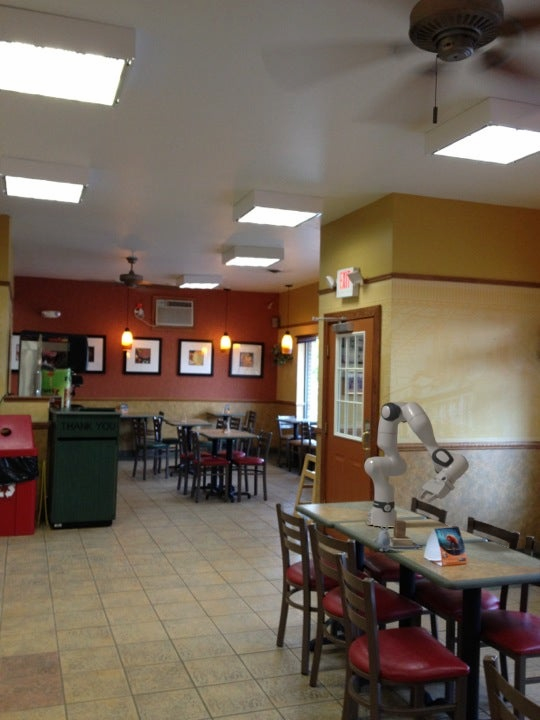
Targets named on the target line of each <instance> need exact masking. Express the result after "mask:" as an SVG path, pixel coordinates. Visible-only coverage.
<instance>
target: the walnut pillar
mask: <svg viewBox="0 0 540 720" xmlns="http://www.w3.org/2000/svg"><path fill="white" fill-rule="evenodd" d="M406 526H407V522H406V521H405V520H403V519H401V520H400V519H399V520H398V519H397V520H394V528H393V534H392V535H393V536H394V537H395V538H404V539H405V536H406V534H407V533H406V532H407V531H406V529H407V528H406Z"/></svg>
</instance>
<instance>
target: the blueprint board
mask: <svg viewBox="0 0 540 720" xmlns="http://www.w3.org/2000/svg"><path fill="white" fill-rule="evenodd" d="M389 547H390V548H394V549H393V550H413V549H412V548H423V547H422V546H420V545H419V544H418V543H416V542H414V541H413V544H412V546H392V545H391V544H390V545H389ZM390 548H389V549H390Z"/></svg>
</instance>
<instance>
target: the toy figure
mask: <svg viewBox="0 0 540 720" xmlns="http://www.w3.org/2000/svg"><path fill="white" fill-rule="evenodd" d="M380 530H381V531H380V532H379V533H378V536H377V537H375V538H374V539H373V543H374V544H375V543H377V544H378V546H379V547H380V548H379V551H380V552H389V548H388V546H389V545H390V539H391V542H393V543H394V539H393V538H391V537H390V536H389V535H390V534H389V531H388V530H389V528H388V526H386V528H383V526H381V528H380Z"/></svg>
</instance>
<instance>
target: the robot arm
mask: <svg viewBox="0 0 540 720" xmlns="http://www.w3.org/2000/svg"><path fill="white" fill-rule="evenodd" d="M380 415H381V416H379V420H378V421H379V422H378V428H377V439H376V440H377V443H376V444H377V446H378V448H379V449H381V451H383V452H384V456H372V457H368V458H366V460H365V462H364V464H363V465H364V472H365V473H366V474H367V475H368V476H369V477H370V479H372V482H373V487H374V496H373V497H374V499H373V501H372V507H370V509H369V510H368V512H366V517H368V518H367V519H368V520H369V521H370V522H371V524H373V525H378V526H394V520H398V517H397V515H398V514H397V511H396V509H395V506H396V501H395V492H396V491H395V487H394V486H393V484H392V483H390V482H389V481H388V477H399V476H402V475H405V473H407V468H408V465H407V462H406V460H405V459H404V458H403V457H402V456H401V454H400V452H399V448H398V434H399V433H398V432H399V431H398V430H399V429H398V426H399V424H400V423H403V424H405V423H407V424H408V426H409V427H410V429H411V430H412V433H414V434H415V435H416V436H417V438H418V439H419V440H420V442H421V443H422V444H423V446H424V447H425V449H426V450H427V453H428V454H429V456H430V457H431V460H432V464H433V468H434V472H435V473H436V475H435V476H434V478H431V479H429V480H428V481H427V482H426V483H424V484H423V486H422V487H421V489H422V490H423V491H421V492H422V493H421V494H420V495H419V498H420V500H423V499H425V496H427V495H428V494H429V496H430V497H428V498H427V499H426V501H427V502H428V503H429V504H430V503H432V502H433V501H435V500H437V499H440V500H442V499H444V498H446V497H447V496H448V495H449V494H450V492H452V491H453V490H455V488H456V487H455V483H456V482H457V480H458V479H460V478H461V477H463V475H465V473H466V472H467V471H468V470H469V468H470V464H469V461H468V459H467V458H466V457H465V456H464V455H463V454H461V453H454V452H451V451H449V450H447V449H445V448H443V447H442V448H440V446H439V444H438V442H437V440H436V438H435V433H434V429H433V425H432V423H431V420H430V417H429V416H428V414H427V413H426V411H425V410H424V409H423V408H422V406H421V405H420V404H419V403H418V402H416V401H410V402H409V401H408V402H404V401H403V402H402V401H398V402H395V401H394V402H386V403H384V404H383V405H382V407H381V409H380Z"/></svg>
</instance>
